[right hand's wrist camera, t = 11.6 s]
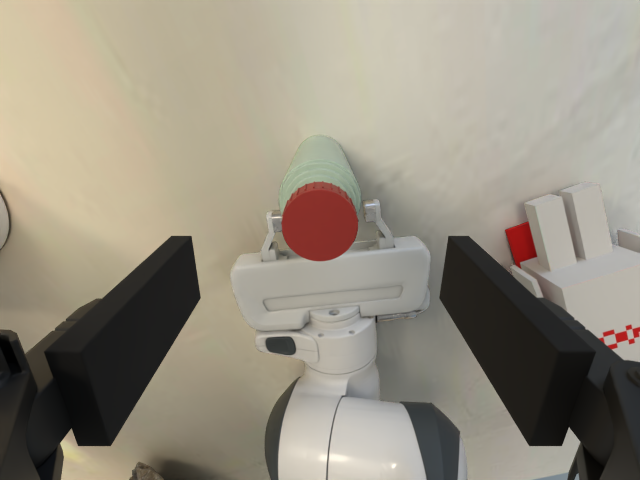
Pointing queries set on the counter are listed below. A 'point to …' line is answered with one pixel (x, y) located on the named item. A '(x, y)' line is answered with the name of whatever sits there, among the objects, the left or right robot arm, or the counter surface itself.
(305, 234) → the cap
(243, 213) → the counter surface
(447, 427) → the left robot arm
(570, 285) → the toy
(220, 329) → the counter surface
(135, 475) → the fossil
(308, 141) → the bottle
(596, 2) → the counter surface
